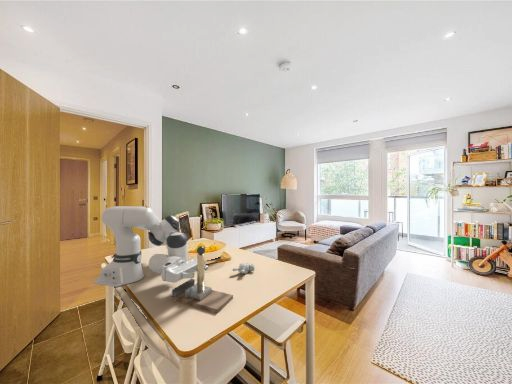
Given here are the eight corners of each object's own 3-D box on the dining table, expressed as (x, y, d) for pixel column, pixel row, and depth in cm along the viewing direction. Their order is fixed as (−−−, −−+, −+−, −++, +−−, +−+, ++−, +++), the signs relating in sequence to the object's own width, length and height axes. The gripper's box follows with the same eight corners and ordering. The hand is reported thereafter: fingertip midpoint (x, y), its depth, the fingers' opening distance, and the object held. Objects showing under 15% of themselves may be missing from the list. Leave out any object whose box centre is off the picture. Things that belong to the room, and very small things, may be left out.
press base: (171, 299, 88) (171, 289, 88) (190, 287, 99) (190, 278, 99) (217, 313, 78) (217, 301, 78) (232, 298, 89) (233, 288, 89)
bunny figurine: (258, 263, 123) (244, 268, 110) (257, 271, 122) (244, 277, 109) (245, 260, 128) (231, 264, 115) (244, 268, 127) (230, 274, 114)
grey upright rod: (185, 297, 86) (185, 247, 86) (200, 287, 95) (200, 242, 95) (198, 301, 83) (199, 250, 83) (212, 290, 93) (213, 244, 92)
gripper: (192, 266, 104) (214, 270, 98) (158, 282, 85) (184, 289, 80) (192, 253, 104) (214, 257, 98) (159, 267, 85) (184, 273, 80)
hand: (200, 271), depth 89 cm, fingers open, 8 cm apart
